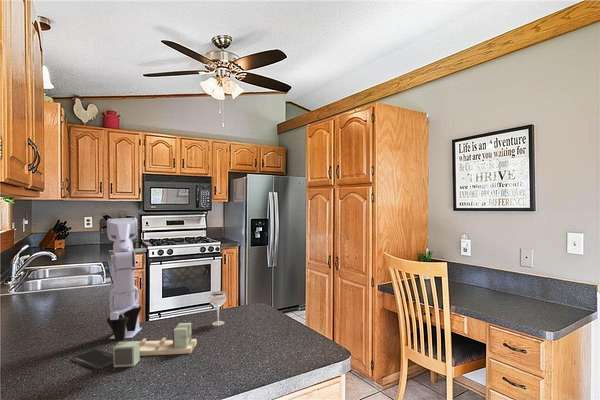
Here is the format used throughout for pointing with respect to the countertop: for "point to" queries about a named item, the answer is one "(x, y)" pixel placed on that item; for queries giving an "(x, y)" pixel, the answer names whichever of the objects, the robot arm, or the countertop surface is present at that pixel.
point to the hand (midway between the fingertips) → (125, 335)
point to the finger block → (126, 354)
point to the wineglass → (217, 303)
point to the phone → (95, 359)
